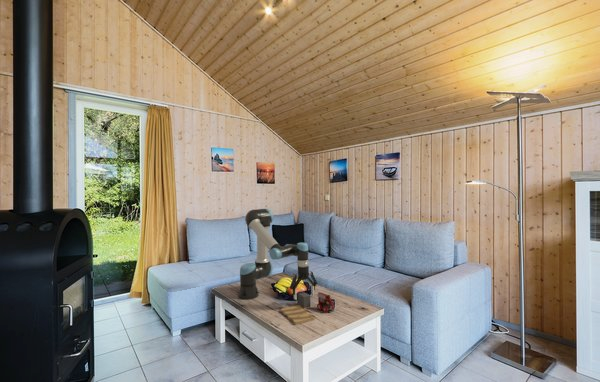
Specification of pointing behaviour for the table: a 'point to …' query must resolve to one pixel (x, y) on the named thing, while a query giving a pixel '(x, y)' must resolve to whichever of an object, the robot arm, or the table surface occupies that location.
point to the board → (297, 314)
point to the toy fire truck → (324, 302)
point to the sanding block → (303, 300)
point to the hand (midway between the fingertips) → (304, 297)
